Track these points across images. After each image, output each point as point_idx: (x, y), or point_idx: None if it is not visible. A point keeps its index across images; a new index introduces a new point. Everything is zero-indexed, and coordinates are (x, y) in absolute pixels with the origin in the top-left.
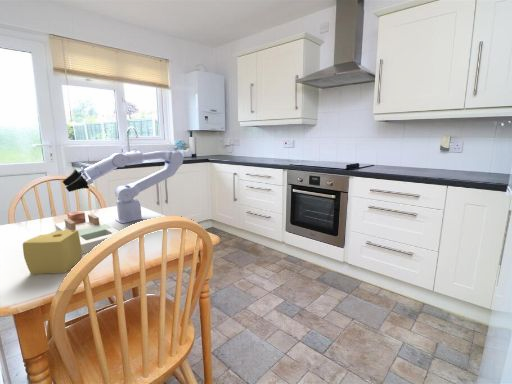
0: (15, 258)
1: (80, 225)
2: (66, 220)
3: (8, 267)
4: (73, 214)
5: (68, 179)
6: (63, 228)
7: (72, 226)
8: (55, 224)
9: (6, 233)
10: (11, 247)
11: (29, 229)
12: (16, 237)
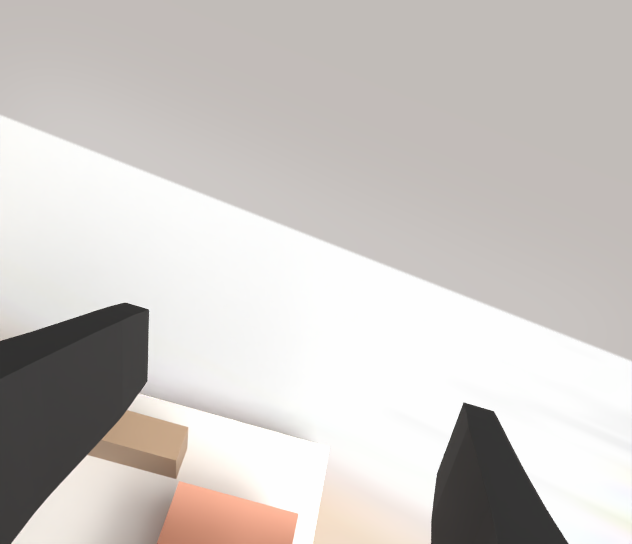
0: (92, 179)
1: (81, 528)
2: (140, 418)
3: (25, 134)
4: (187, 516)
5: (470, 503)
6: (157, 414)
7: None
8: (321, 445)
9: (513, 321)
10: (256, 234)
11: (501, 405)
12: (397, 308)
